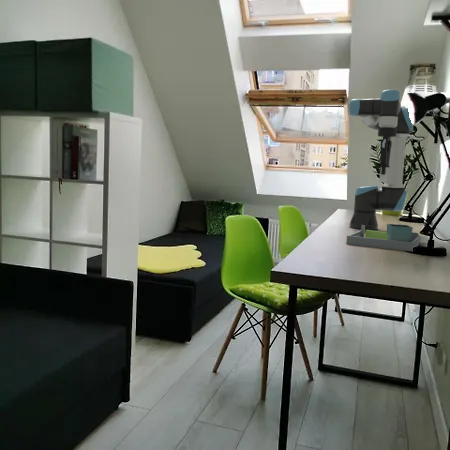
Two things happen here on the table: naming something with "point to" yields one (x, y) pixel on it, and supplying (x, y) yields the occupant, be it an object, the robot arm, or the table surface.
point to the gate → (376, 234)
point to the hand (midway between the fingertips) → (382, 182)
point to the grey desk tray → (382, 241)
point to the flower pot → (399, 232)
